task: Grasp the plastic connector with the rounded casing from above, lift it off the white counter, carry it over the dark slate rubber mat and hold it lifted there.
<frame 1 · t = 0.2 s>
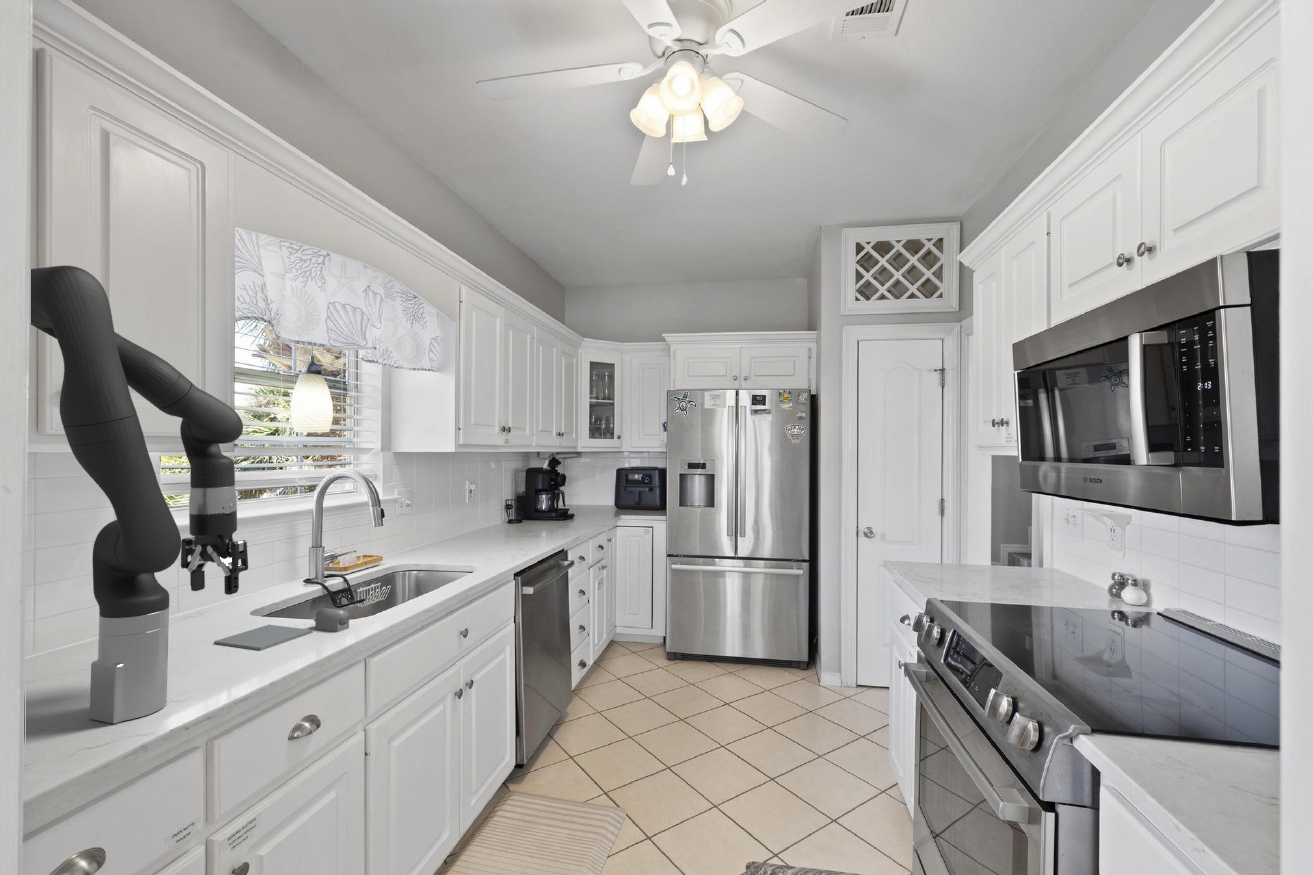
hand: (214, 592, 118), 17 cm above the counter, tool pointing down, fingers open, 8 cm apart
slate mat: (264, 638, 144), on the counter
connector: (332, 629, 152), on the counter
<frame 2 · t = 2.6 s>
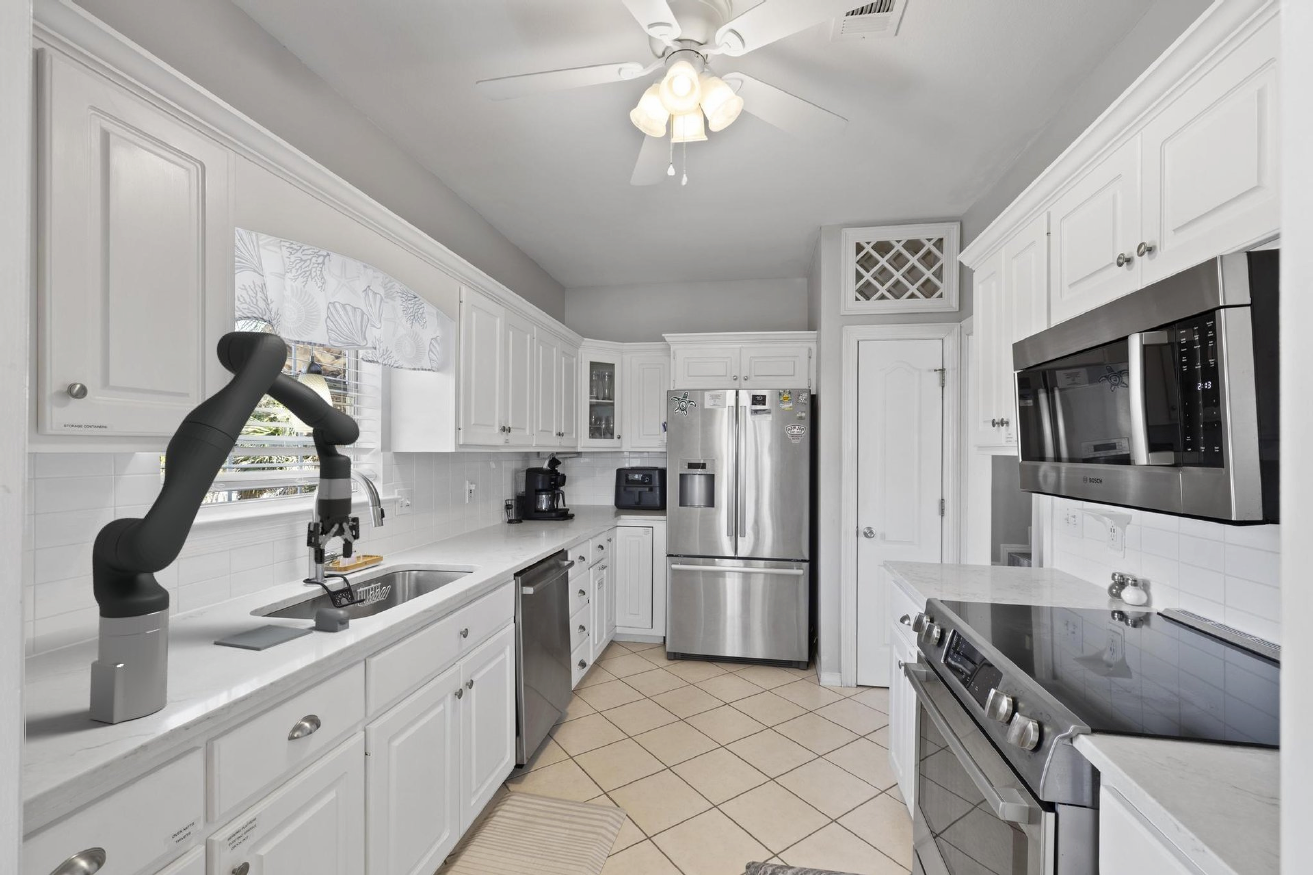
hand: (333, 560, 152), 17 cm above the counter, tool pointing down, fingers open, 8 cm apart
nothing on the counter moved.
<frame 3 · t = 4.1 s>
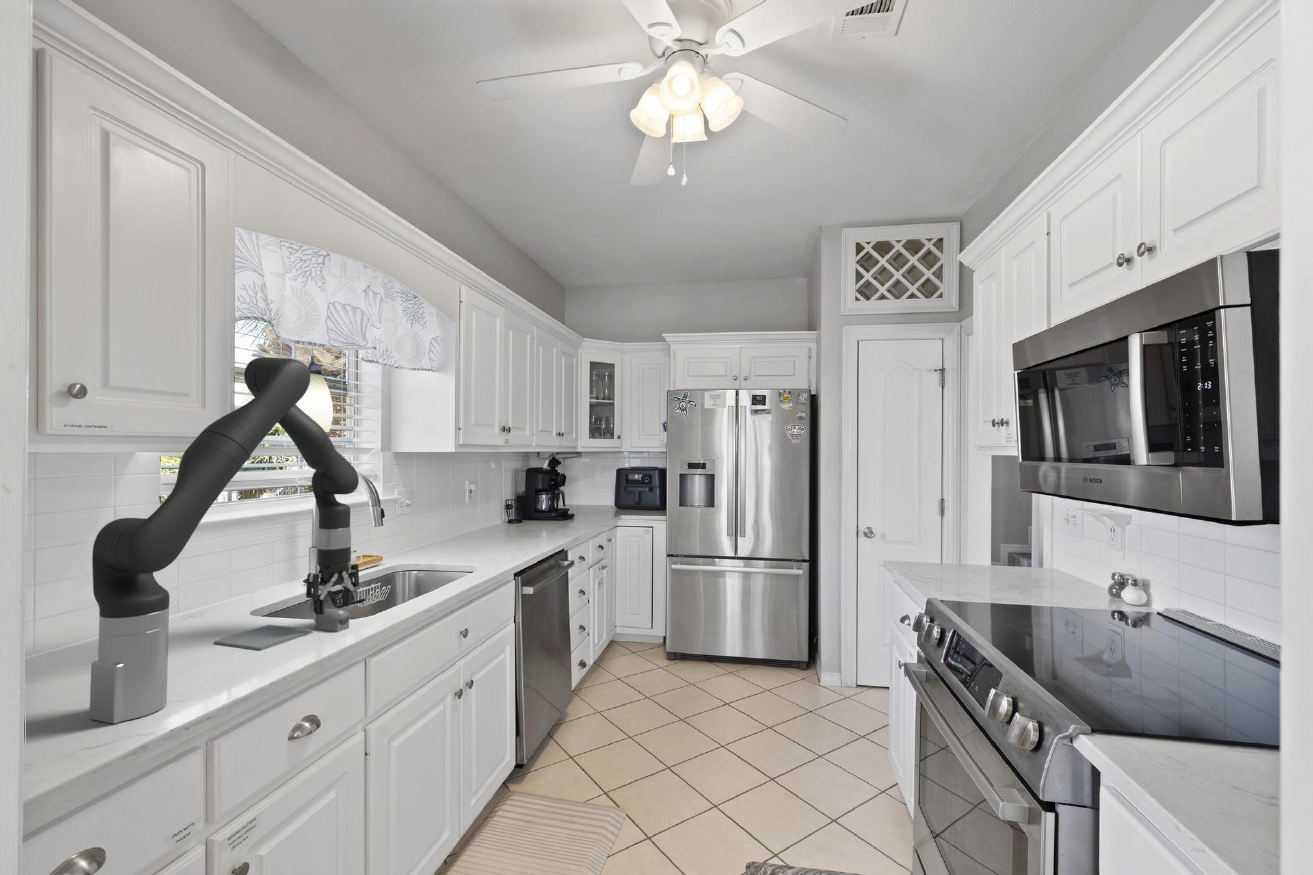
hand: (333, 609, 152), 5 cm above the counter, tool pointing down, fingers open, 8 cm apart
nothing on the counter moved.
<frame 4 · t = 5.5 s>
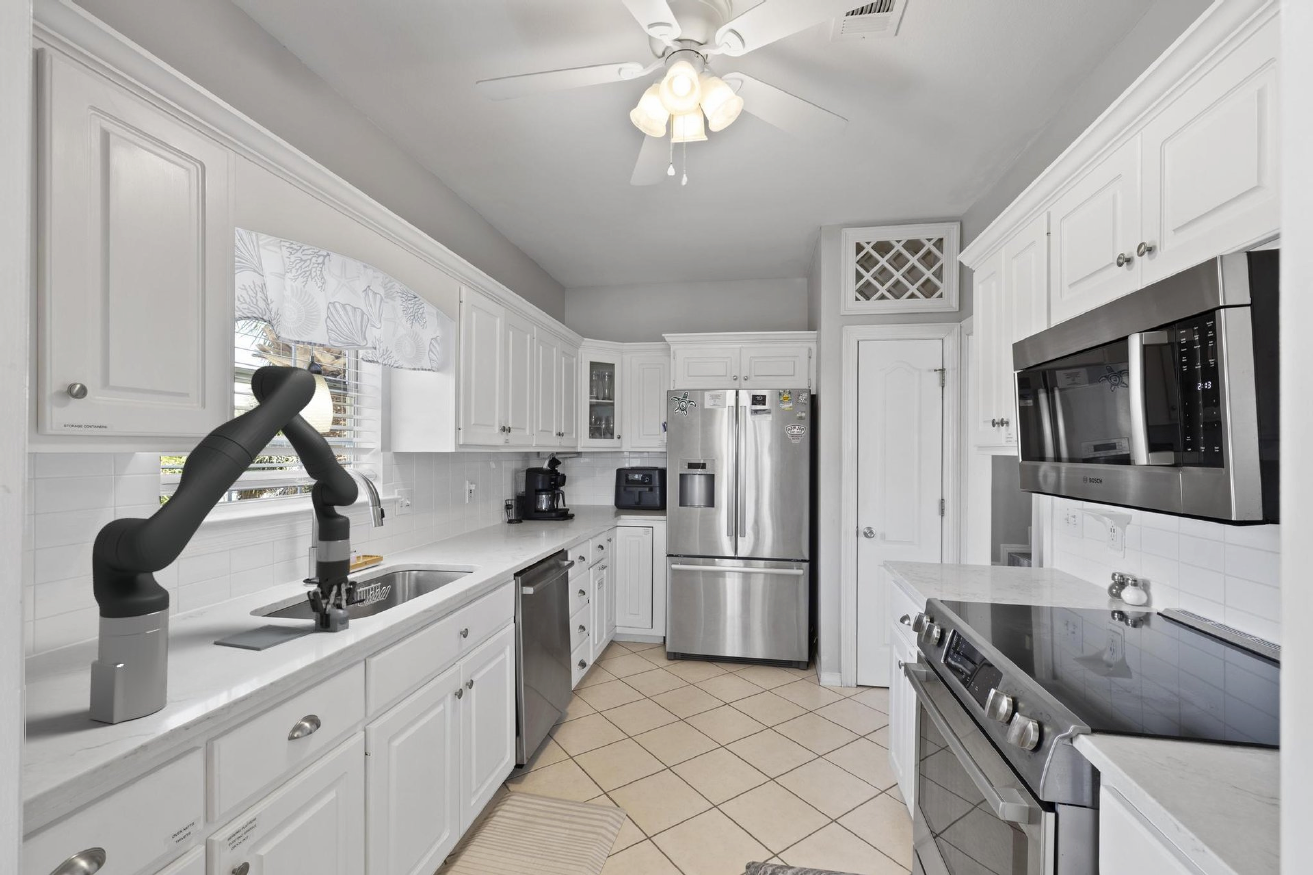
hand: (332, 625, 152), 1 cm above the counter, tool pointing down, fingers closed on connector, 3 cm apart
connector: (331, 628, 152), on the counter, touching gripper
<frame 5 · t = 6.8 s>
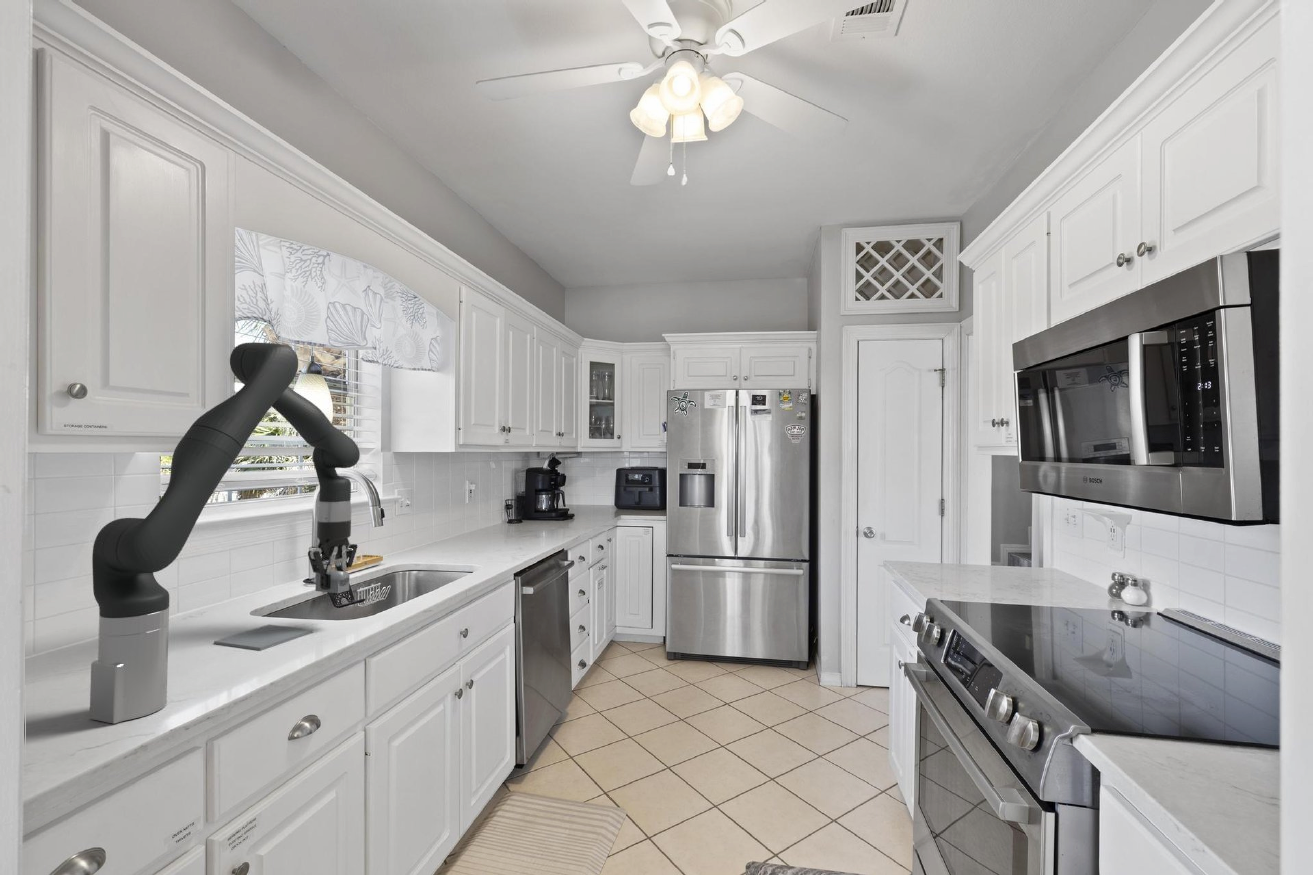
hand: (332, 587, 152), 10 cm above the counter, tool pointing down, fingers closed on connector, 3 cm apart
connector: (332, 590, 152), point 10 cm above the counter, touching gripper
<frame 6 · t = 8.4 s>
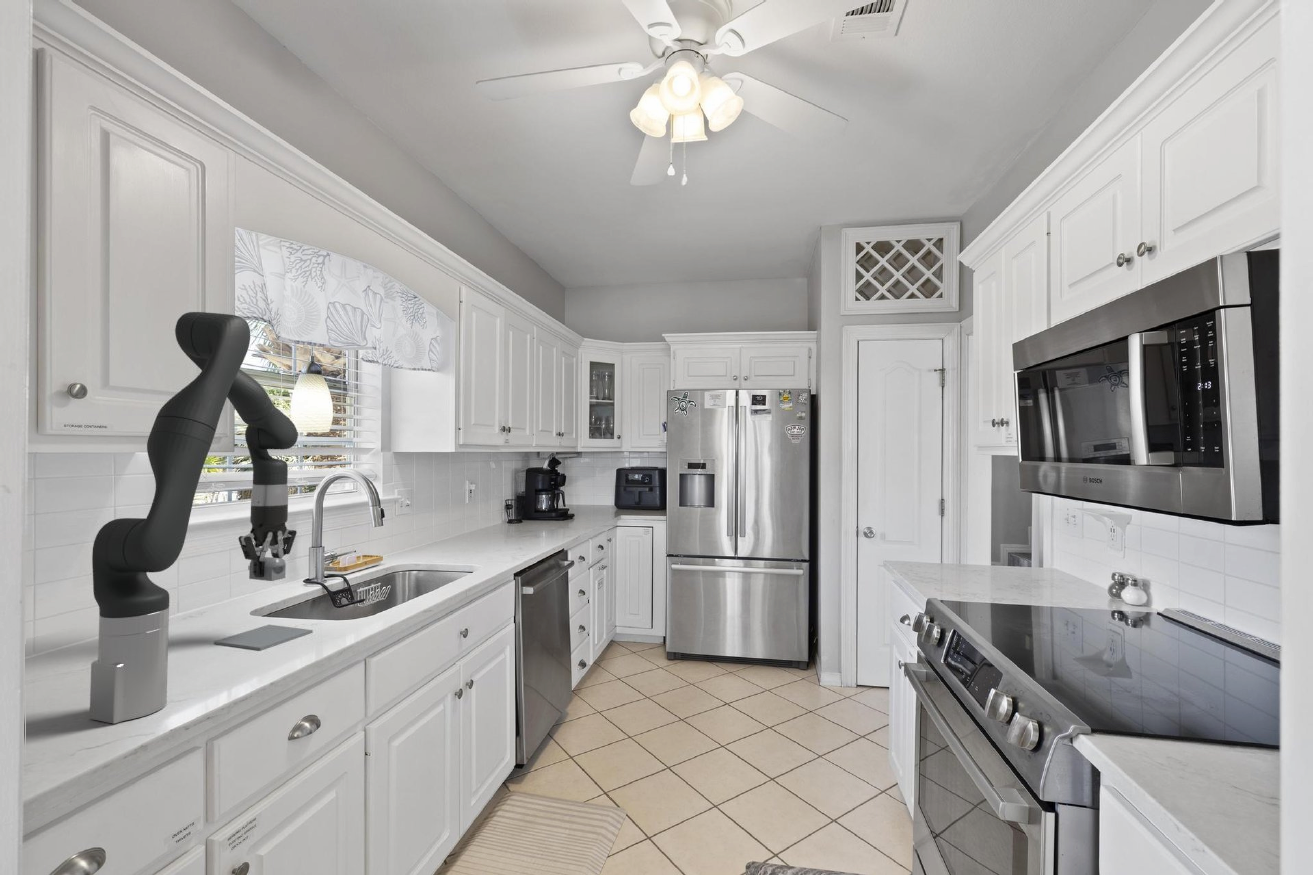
hand: (267, 575, 144), 15 cm above the counter, tool pointing down, fingers closed on connector, 3 cm apart
connector: (267, 578, 144), point 14 cm above the counter, touching gripper
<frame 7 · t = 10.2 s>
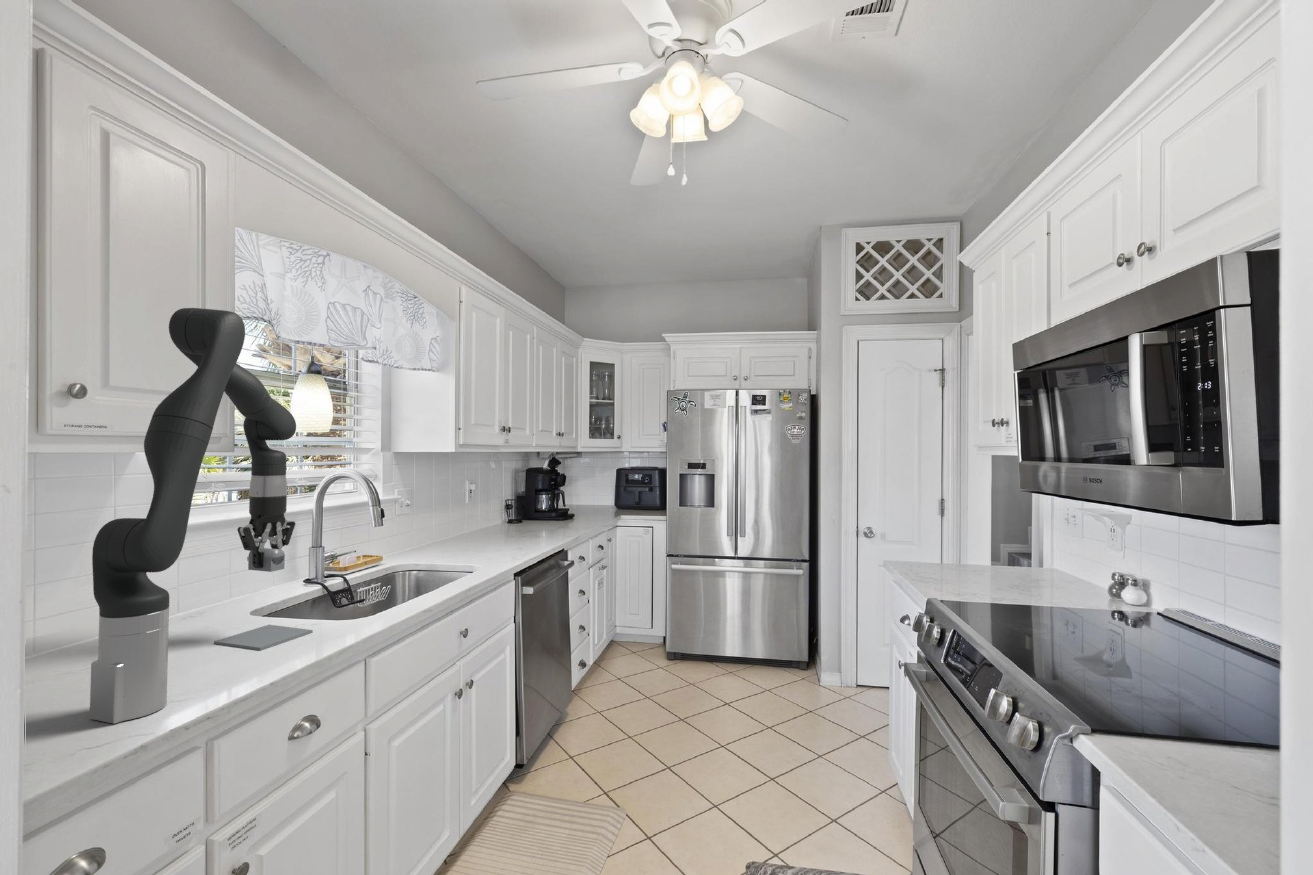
hand: (266, 565, 144), 17 cm above the counter, tool pointing down, fingers closed on connector, 3 cm apart
connector: (266, 569, 144), point 16 cm above the counter, touching gripper
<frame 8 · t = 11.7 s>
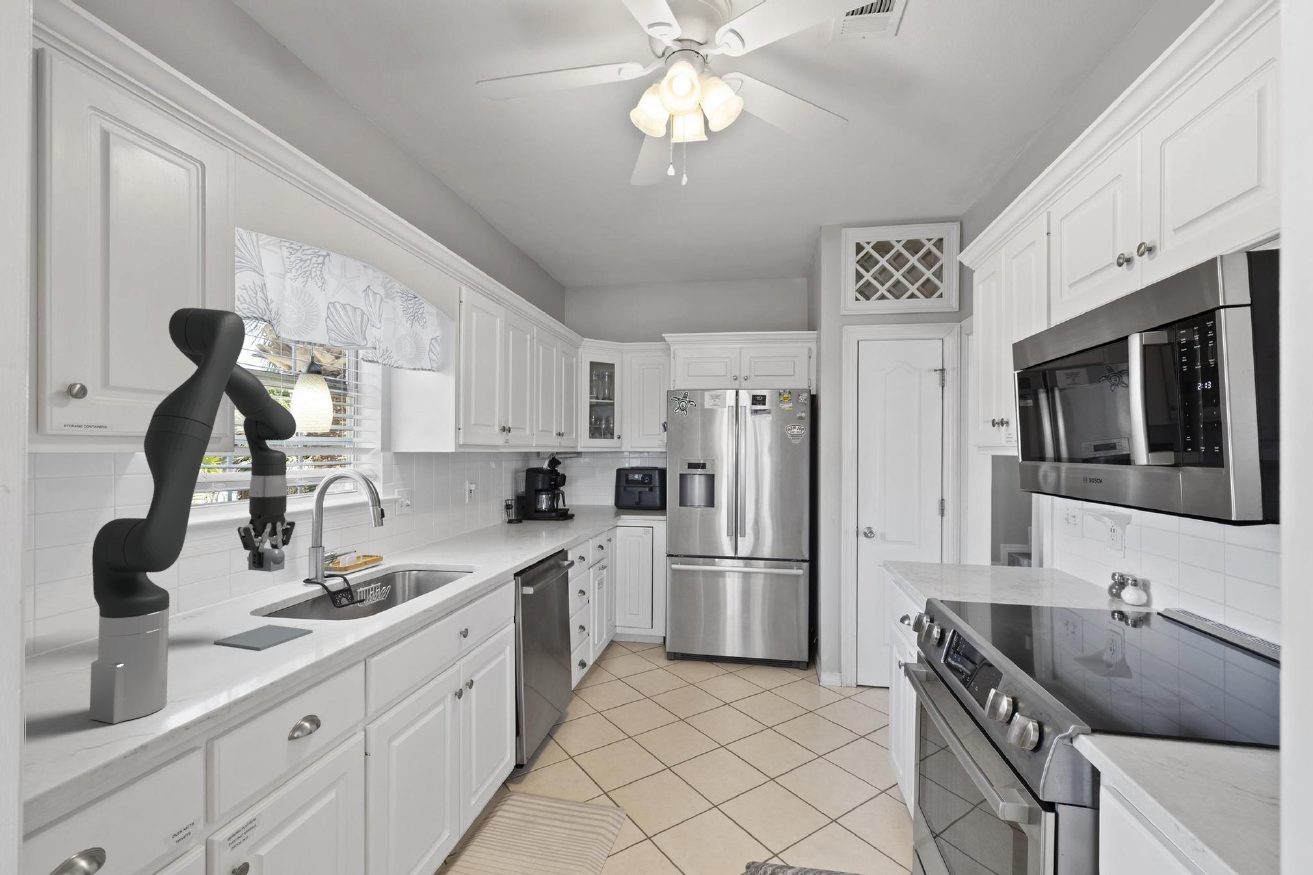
hand: (266, 565, 144), 17 cm above the counter, tool pointing down, fingers closed on connector, 3 cm apart
connector: (266, 569, 144), point 16 cm above the counter, touching gripper
at the end: the gripper is holding connector; connector point 16.3 cm above the counter; connector inside the target area (0.0 cm from its centre), point 16.3 cm above the counter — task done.
